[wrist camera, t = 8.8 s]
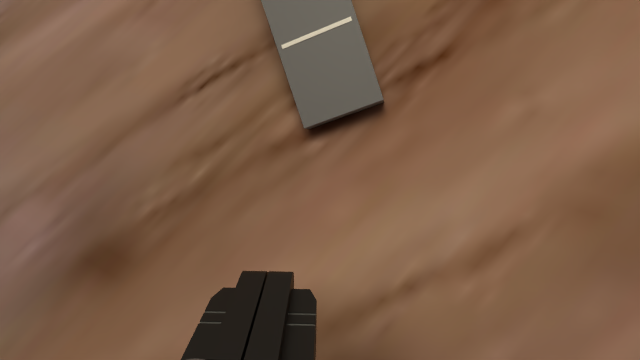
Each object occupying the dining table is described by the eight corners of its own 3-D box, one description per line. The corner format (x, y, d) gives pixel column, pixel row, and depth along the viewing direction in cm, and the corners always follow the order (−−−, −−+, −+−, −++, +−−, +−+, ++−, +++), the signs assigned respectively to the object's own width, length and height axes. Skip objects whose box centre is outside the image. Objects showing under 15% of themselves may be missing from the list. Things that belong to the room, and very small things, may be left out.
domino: (383, 99, 22) (328, -69, 22) (304, 128, 23) (250, -32, 23) (384, 102, 24) (333, -54, 23) (309, 128, 25) (259, -21, 24)
